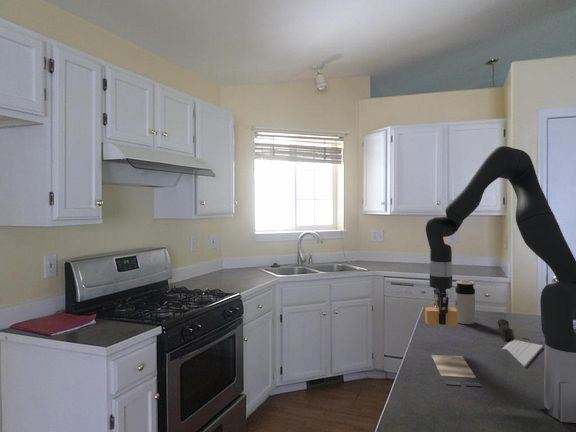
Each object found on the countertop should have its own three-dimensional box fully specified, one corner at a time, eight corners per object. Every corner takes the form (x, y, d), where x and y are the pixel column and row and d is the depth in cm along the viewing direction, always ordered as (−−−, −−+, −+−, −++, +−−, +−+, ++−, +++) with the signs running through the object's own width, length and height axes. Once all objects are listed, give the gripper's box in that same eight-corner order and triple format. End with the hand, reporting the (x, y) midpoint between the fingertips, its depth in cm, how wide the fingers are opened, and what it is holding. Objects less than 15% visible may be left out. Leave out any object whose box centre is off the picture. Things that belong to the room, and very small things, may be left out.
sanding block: (457, 325, 143) (457, 311, 143) (427, 325, 144) (427, 310, 144) (454, 321, 148) (454, 307, 147) (425, 321, 149) (424, 307, 149)
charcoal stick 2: (479, 389, 119) (481, 393, 117) (464, 389, 120) (466, 392, 118) (479, 383, 119) (481, 386, 117) (464, 382, 119) (466, 385, 118)
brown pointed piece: (497, 327, 177) (497, 317, 176) (508, 328, 175) (508, 318, 175) (497, 341, 160) (497, 329, 160) (509, 342, 158) (509, 330, 158)
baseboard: (479, 365, 137) (519, 375, 129) (479, 356, 137) (519, 366, 129) (506, 341, 160) (542, 349, 152) (507, 334, 160) (542, 341, 152)
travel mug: (476, 321, 185) (476, 281, 185) (473, 325, 179) (473, 284, 178) (457, 318, 190) (457, 279, 189) (453, 323, 183) (453, 282, 182)
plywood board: (476, 382, 123) (476, 377, 123) (440, 380, 125) (440, 375, 125) (462, 360, 140) (462, 356, 140) (431, 359, 142) (431, 354, 142)
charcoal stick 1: (459, 388, 120) (460, 392, 118) (444, 387, 120) (445, 390, 118) (459, 382, 120) (460, 385, 118) (444, 381, 120) (445, 384, 118)
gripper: (456, 277, 138) (456, 328, 138) (447, 270, 152) (447, 316, 152) (433, 277, 139) (433, 327, 140) (426, 270, 153) (426, 315, 154)
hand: (440, 321), depth 146 cm, fingers closed on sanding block, 5 cm apart
